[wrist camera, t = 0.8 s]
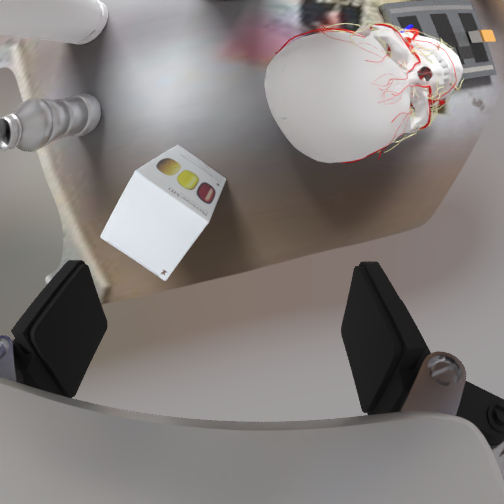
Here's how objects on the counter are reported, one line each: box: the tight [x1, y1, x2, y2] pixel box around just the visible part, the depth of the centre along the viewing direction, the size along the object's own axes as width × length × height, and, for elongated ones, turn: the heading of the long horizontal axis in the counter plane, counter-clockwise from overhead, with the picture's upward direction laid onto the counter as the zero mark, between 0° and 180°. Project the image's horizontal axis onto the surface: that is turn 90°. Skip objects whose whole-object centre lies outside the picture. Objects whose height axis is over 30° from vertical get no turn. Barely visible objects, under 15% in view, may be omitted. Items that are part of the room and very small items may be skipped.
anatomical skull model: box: [264, 23, 464, 163], centre depth 28 cm, size 16×19×25 cm
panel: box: [379, 0, 496, 80], centre depth 28 cm, size 14×19×6 cm
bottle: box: [0, 0, 108, 44], centre depth 18 cm, size 8×8×28 cm
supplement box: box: [101, 145, 226, 281], centre depth 37 cm, size 10×9×17 cm
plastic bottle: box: [0, 93, 101, 152], centre depth 29 cm, size 6×7×20 cm
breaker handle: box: [468, 30, 496, 43], centre depth 26 cm, size 2×3×4 cm, turn 113°
